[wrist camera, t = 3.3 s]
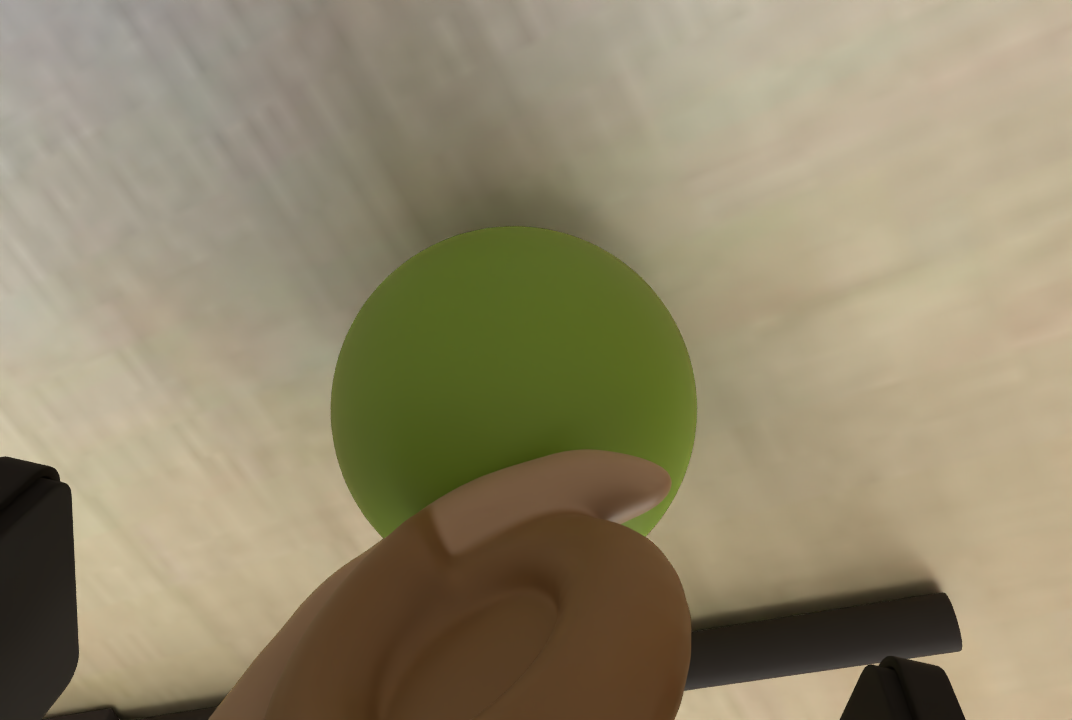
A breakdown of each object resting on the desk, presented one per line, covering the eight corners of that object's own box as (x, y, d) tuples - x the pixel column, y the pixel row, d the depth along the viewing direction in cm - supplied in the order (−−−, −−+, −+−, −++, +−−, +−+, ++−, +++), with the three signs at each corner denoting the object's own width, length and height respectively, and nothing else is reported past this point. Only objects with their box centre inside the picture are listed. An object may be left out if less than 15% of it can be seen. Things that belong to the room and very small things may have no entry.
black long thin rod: (64, 762, 23) (38, 800, 22) (31, 717, 22) (3, 755, 21) (949, 631, 18) (967, 672, 17) (940, 569, 17) (957, 609, 16)
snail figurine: (282, 306, 16) (-406, 1068, 6) (585, 120, 14) (420, 759, 3) (451, 521, 18) (179, 1409, 7) (741, 383, 16) (950, 1338, 5)
